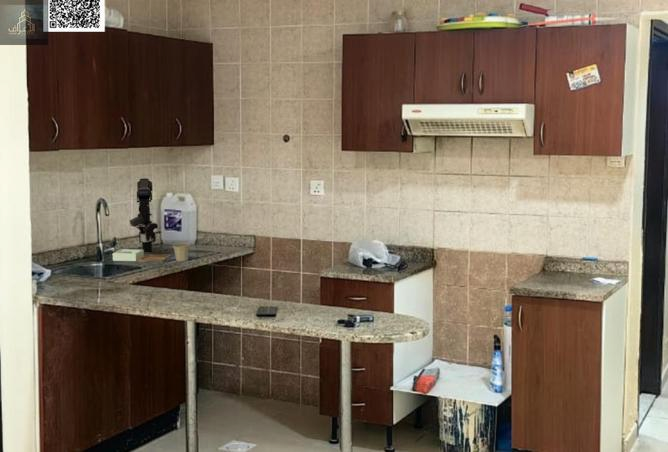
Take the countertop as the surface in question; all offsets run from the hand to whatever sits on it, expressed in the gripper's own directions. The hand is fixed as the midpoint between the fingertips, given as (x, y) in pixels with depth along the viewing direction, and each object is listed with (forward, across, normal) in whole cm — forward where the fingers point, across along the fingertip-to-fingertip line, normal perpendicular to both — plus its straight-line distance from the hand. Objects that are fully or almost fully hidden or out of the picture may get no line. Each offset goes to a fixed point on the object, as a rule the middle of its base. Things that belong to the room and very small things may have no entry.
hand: (145, 240), depth 539 cm
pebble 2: (+1, 0, 0) cm, 1 cm away
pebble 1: (+10, -4, -10) cm, 15 cm away
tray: (+11, +4, +3) cm, 12 cm away
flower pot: (+11, +17, +12) cm, 24 cm away
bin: (+11, -6, -8) cm, 15 cm away
